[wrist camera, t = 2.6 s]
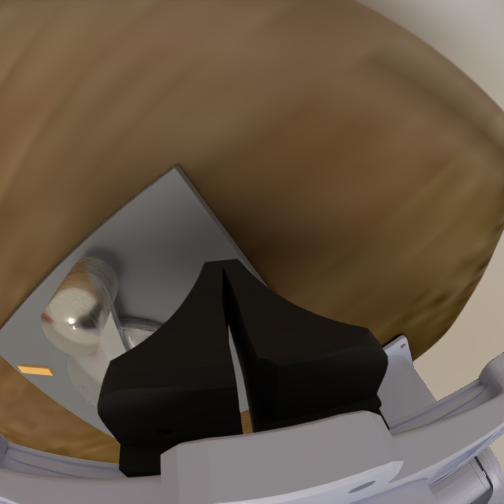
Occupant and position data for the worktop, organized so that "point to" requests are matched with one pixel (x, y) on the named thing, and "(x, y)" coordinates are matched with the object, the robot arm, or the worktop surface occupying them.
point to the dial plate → (128, 280)
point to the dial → (91, 324)
